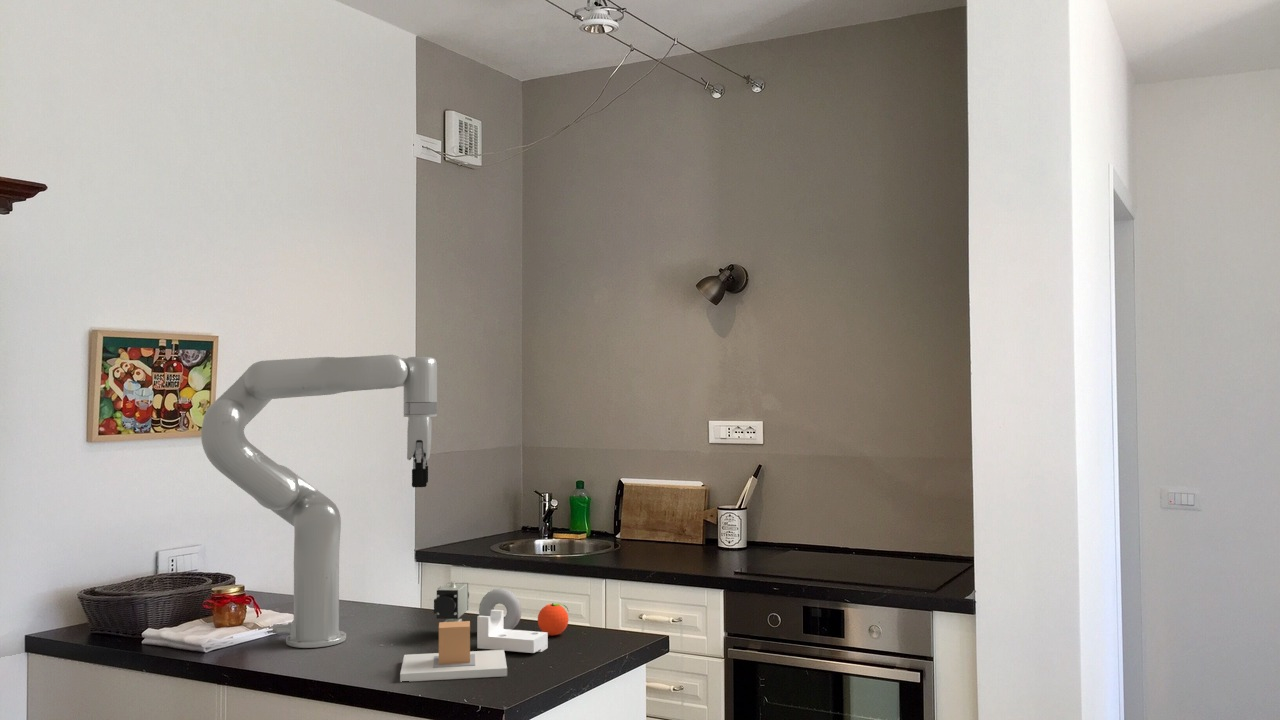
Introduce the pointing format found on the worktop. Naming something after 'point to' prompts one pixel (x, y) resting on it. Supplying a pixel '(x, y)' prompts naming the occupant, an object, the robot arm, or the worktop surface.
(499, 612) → the bracket
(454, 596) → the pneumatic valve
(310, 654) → the worktop surface
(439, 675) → the plate
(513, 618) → the donut
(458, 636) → the block
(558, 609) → the clementine
